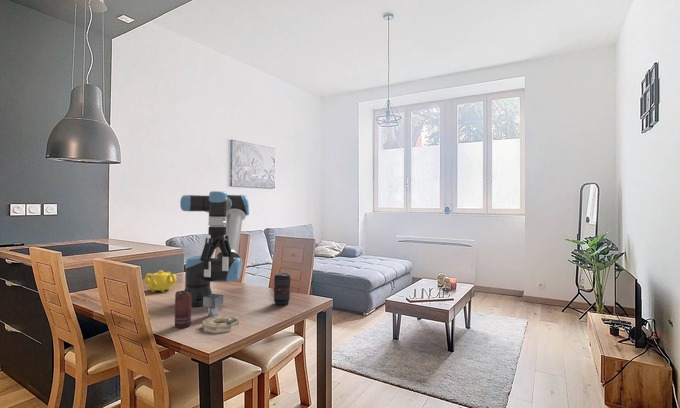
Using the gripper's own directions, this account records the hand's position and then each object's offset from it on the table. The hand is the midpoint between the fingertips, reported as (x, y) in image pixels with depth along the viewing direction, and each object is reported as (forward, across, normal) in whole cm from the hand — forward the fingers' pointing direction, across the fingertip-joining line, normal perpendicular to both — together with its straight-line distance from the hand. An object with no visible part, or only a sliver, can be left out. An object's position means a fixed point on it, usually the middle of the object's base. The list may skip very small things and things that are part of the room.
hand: (216, 273), depth 160 cm
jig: (+19, -11, -10) cm, 24 cm away
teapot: (+19, +28, +54) cm, 64 cm away
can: (+19, -16, +5) cm, 25 cm away
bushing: (+19, -1, +1) cm, 19 cm away
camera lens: (+19, +26, -20) cm, 38 cm away
